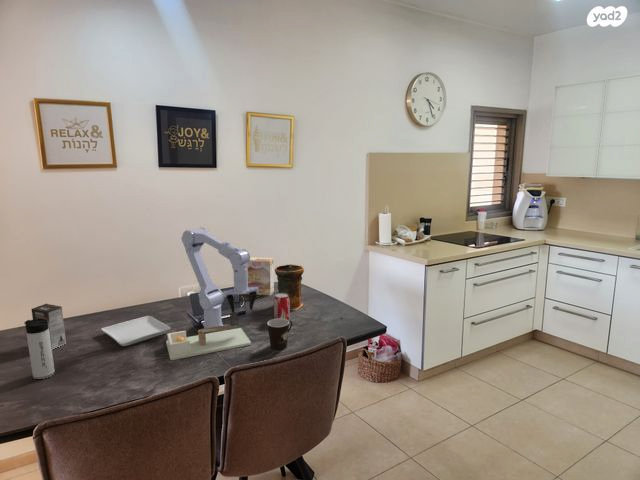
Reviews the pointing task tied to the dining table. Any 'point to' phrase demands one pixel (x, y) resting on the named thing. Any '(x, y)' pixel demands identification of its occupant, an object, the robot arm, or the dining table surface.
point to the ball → (179, 339)
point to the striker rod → (218, 328)
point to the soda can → (281, 306)
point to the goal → (178, 343)
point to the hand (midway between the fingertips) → (242, 310)
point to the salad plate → (136, 330)
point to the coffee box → (52, 322)
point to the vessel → (290, 283)
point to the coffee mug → (278, 333)
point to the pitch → (214, 343)
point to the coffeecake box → (261, 275)
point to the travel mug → (40, 348)
